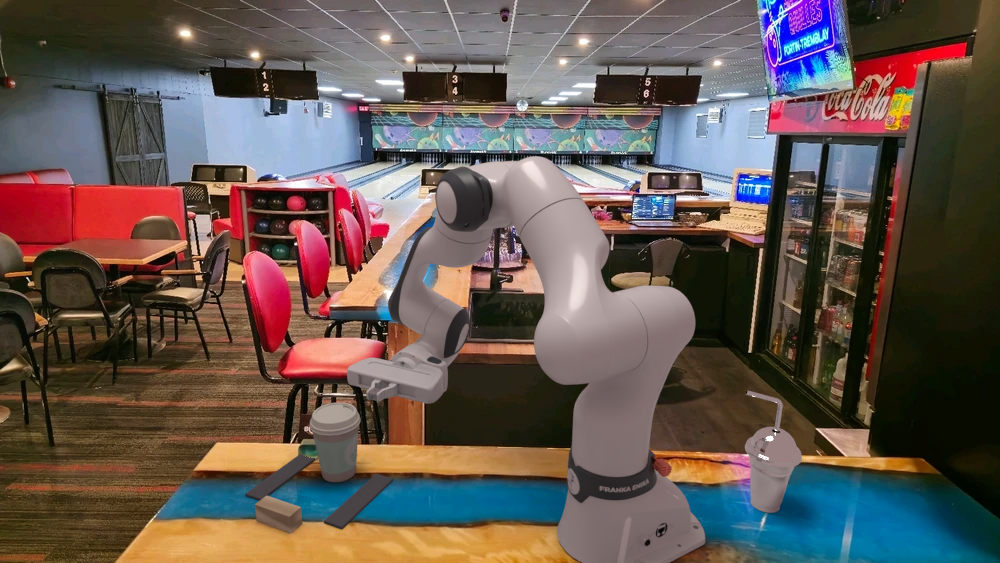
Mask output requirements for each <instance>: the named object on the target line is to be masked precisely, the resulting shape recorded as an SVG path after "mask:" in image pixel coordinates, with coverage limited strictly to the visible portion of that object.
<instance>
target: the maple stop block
mask: <svg viewBox="0 0 1000 563" xmlns="http://www.w3.org/2000/svg"><path fill="white" fill-rule="evenodd" d="M254 507H255V508H254V509H255V516H256V521H257V522H260V523H262V524H265V525H267V526H270V527H273V528H276V529H279V530H281V531H284V532H287V533H289V534H292V533H293V532H294V531H296V530H297V529H298V528H299V527H300V526H301V525H303V516H302V507H301V506H299V505H295V504H292V503H290V502H286V501H284V500H281V499H278V498H275V497H272V496H270V495H269V496H265V497H264V498H263V499H261V500H260V501H259V500H258V502H256V503H255V504H254Z"/></svg>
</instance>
